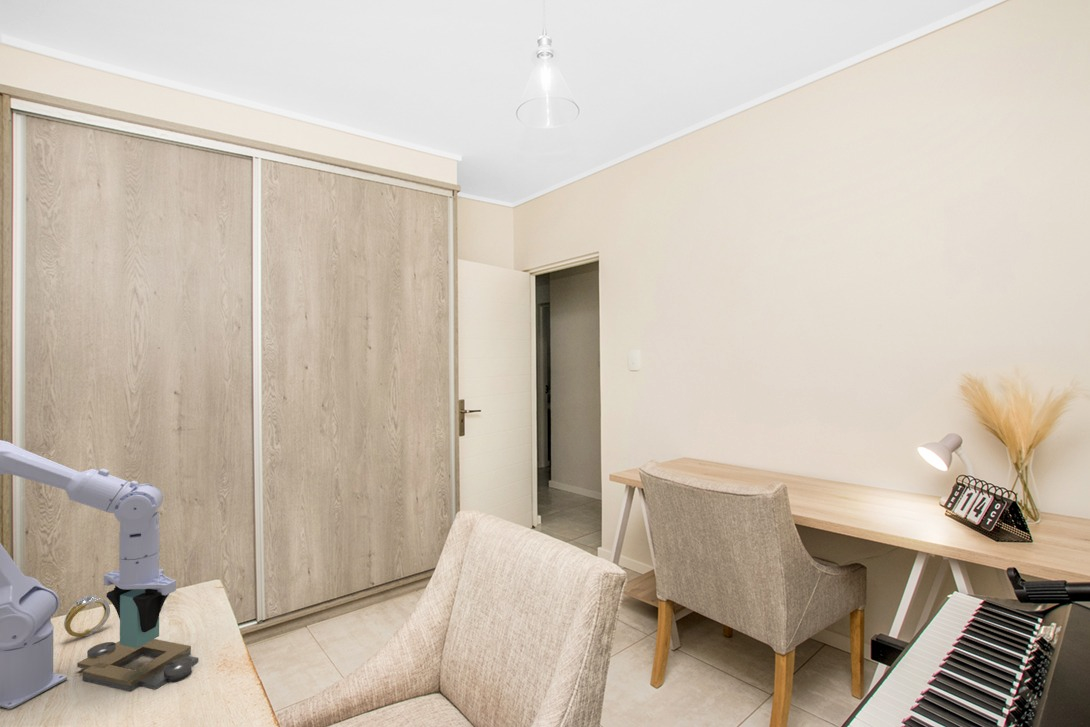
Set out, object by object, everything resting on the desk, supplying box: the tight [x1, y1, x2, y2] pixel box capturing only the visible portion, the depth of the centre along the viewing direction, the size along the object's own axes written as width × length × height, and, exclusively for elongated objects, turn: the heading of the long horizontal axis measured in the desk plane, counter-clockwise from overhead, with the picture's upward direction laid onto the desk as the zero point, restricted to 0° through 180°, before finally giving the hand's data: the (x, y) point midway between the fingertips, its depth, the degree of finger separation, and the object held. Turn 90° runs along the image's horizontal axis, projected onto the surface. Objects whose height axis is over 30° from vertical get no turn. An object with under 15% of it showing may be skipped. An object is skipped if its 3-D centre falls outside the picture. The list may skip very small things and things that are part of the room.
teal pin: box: [119, 589, 160, 648], centre depth 92 cm, size 4×4×9 cm
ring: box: [63, 594, 111, 638], centre depth 102 cm, size 7×3×8 cm, turn 146°
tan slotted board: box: [76, 638, 192, 687], centre depth 93 cm, size 16×11×2 cm, turn 76°
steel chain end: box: [81, 649, 199, 692], centre depth 91 cm, size 16×11×2 cm, turn 76°
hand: (139, 627), depth 92 cm, fingers closed on teal pin, 4 cm apart
